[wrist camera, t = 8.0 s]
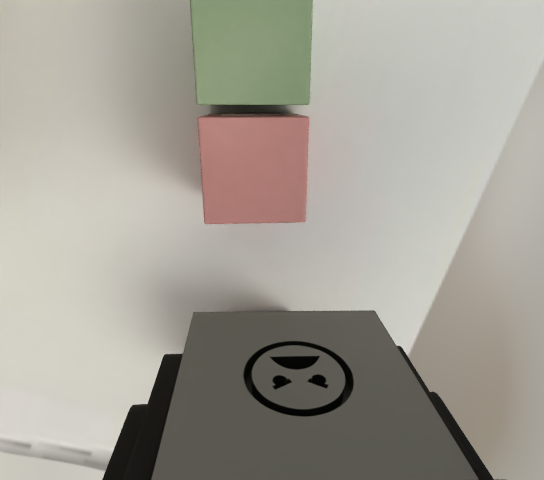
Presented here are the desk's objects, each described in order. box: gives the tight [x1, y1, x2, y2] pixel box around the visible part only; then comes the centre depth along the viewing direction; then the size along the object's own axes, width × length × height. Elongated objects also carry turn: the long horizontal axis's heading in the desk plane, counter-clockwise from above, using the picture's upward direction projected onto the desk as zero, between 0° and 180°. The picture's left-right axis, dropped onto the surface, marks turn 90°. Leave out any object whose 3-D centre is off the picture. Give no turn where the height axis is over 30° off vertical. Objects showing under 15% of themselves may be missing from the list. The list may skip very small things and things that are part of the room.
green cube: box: [190, 0, 313, 105], centre depth 18 cm, size 5×5×5 cm
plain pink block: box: [198, 112, 309, 224], centre depth 20 cm, size 5×5×5 cm
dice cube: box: [151, 311, 478, 480], centre depth 9 cm, size 5×5×5 cm
